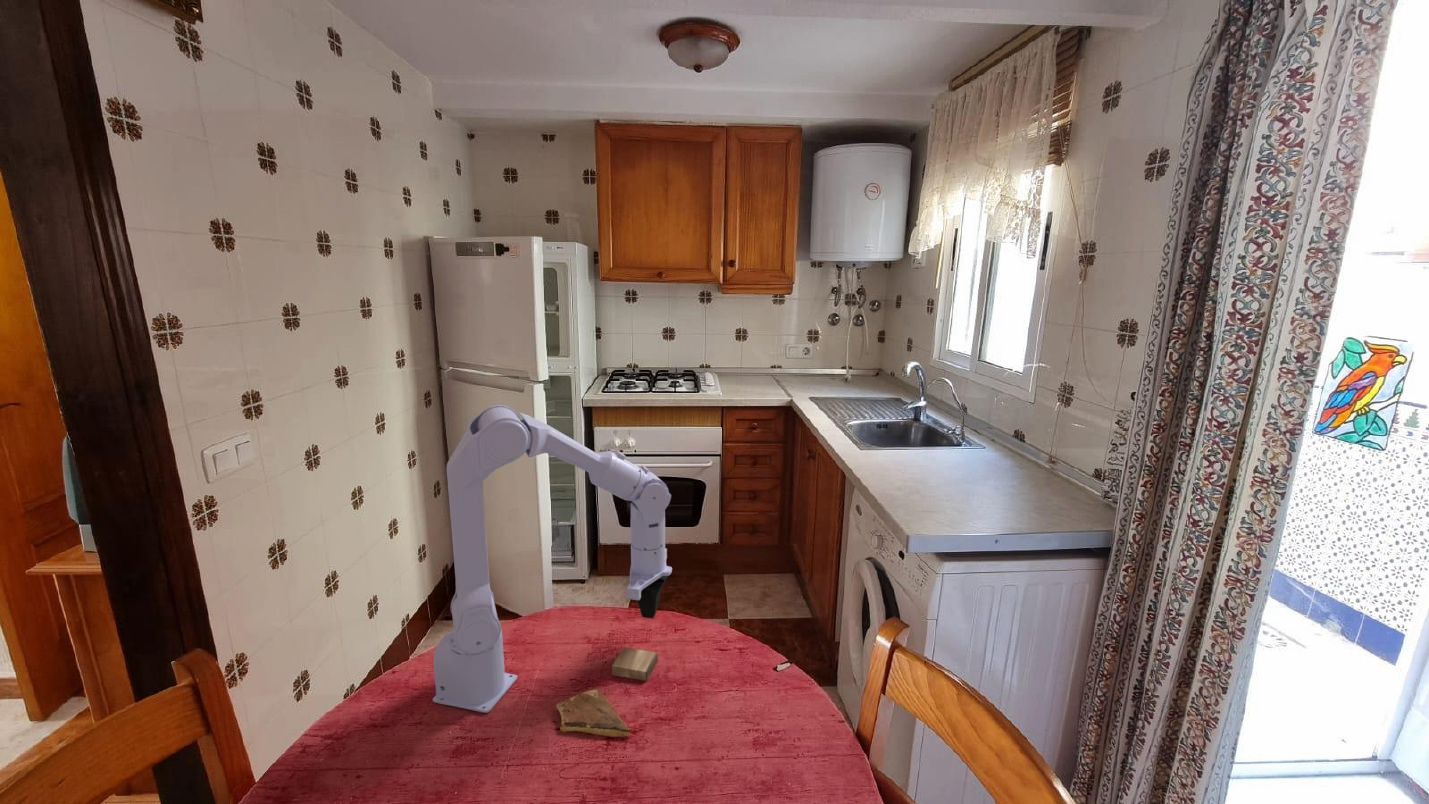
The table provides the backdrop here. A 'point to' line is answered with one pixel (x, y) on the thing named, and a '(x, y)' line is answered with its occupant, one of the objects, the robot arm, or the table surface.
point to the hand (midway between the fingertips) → (648, 615)
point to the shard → (591, 715)
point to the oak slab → (635, 664)
